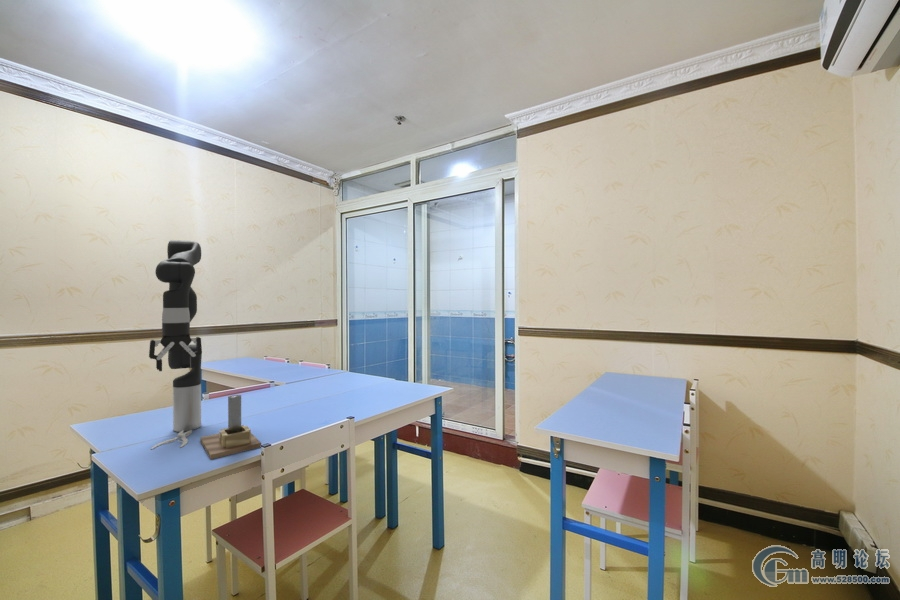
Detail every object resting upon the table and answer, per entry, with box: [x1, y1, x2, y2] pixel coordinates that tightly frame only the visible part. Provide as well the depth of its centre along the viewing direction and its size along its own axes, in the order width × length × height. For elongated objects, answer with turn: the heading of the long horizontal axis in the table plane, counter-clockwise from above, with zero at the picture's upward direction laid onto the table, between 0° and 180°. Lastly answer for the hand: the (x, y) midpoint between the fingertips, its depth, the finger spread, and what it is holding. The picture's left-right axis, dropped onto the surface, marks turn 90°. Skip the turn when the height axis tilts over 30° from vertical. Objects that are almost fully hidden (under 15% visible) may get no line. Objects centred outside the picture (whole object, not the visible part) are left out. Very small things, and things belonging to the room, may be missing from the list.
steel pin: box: [227, 394, 242, 434], centre depth 131 cm, size 4×4×16 cm
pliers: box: [150, 430, 193, 450], centre depth 136 cm, size 10×2×15 cm
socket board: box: [199, 424, 262, 460], centre depth 133 cm, size 20×15×6 cm
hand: (176, 369), depth 126 cm, fingers open, 8 cm apart
